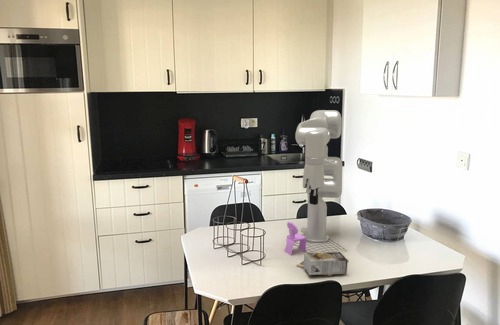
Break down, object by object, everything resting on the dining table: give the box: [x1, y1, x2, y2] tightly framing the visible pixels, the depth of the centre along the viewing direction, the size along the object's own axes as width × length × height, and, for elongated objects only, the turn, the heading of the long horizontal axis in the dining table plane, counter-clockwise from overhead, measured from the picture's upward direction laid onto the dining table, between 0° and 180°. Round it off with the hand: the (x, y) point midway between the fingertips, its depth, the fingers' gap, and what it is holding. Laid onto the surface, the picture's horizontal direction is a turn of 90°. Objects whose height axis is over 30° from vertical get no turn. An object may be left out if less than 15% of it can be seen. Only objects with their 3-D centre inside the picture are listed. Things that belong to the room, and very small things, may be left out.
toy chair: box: [283, 221, 308, 257], centre depth 201 cm, size 8×9×15 cm
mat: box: [296, 250, 349, 277], centre depth 188 cm, size 16×18×1 cm
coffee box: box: [303, 251, 348, 276], centre depth 179 cm, size 9×6×16 cm
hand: (313, 203), depth 177 cm, fingers closed
